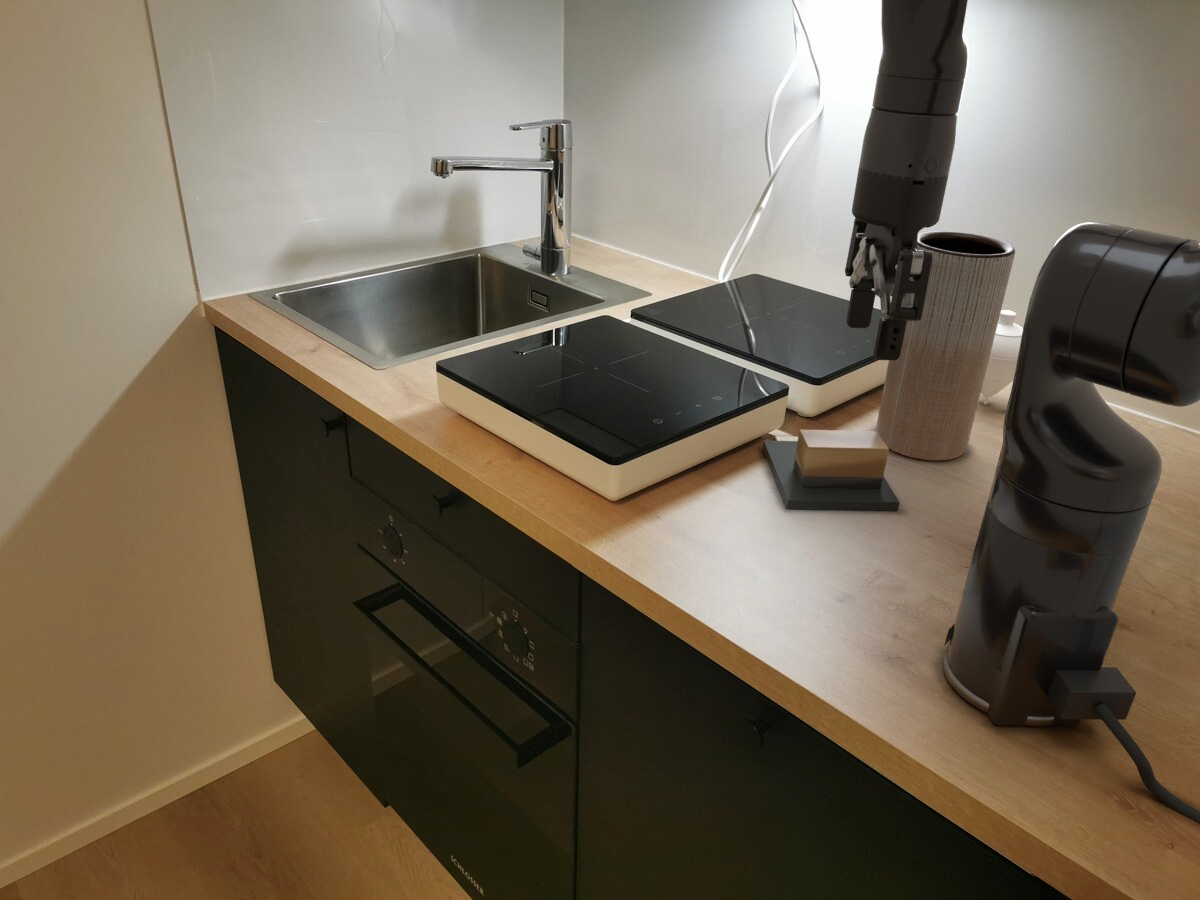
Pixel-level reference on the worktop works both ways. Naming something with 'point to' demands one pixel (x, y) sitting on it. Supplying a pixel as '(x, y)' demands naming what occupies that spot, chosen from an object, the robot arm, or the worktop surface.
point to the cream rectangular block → (786, 438)
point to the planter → (946, 347)
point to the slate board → (821, 497)
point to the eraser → (840, 459)
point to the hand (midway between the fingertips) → (871, 342)
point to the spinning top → (1002, 355)
